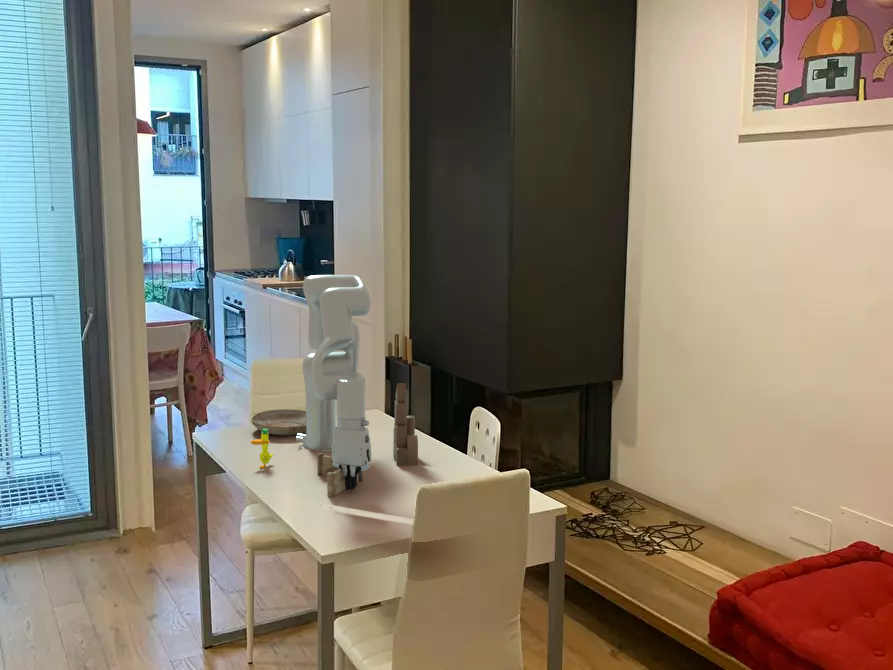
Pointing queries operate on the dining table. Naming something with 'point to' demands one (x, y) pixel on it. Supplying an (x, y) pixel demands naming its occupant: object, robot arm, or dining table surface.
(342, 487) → the fence gate
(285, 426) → the ceramic bowl
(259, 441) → the toy figure
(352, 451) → the robot arm
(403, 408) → the wooden toy
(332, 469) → the fence fixed
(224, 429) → the dining table surface
